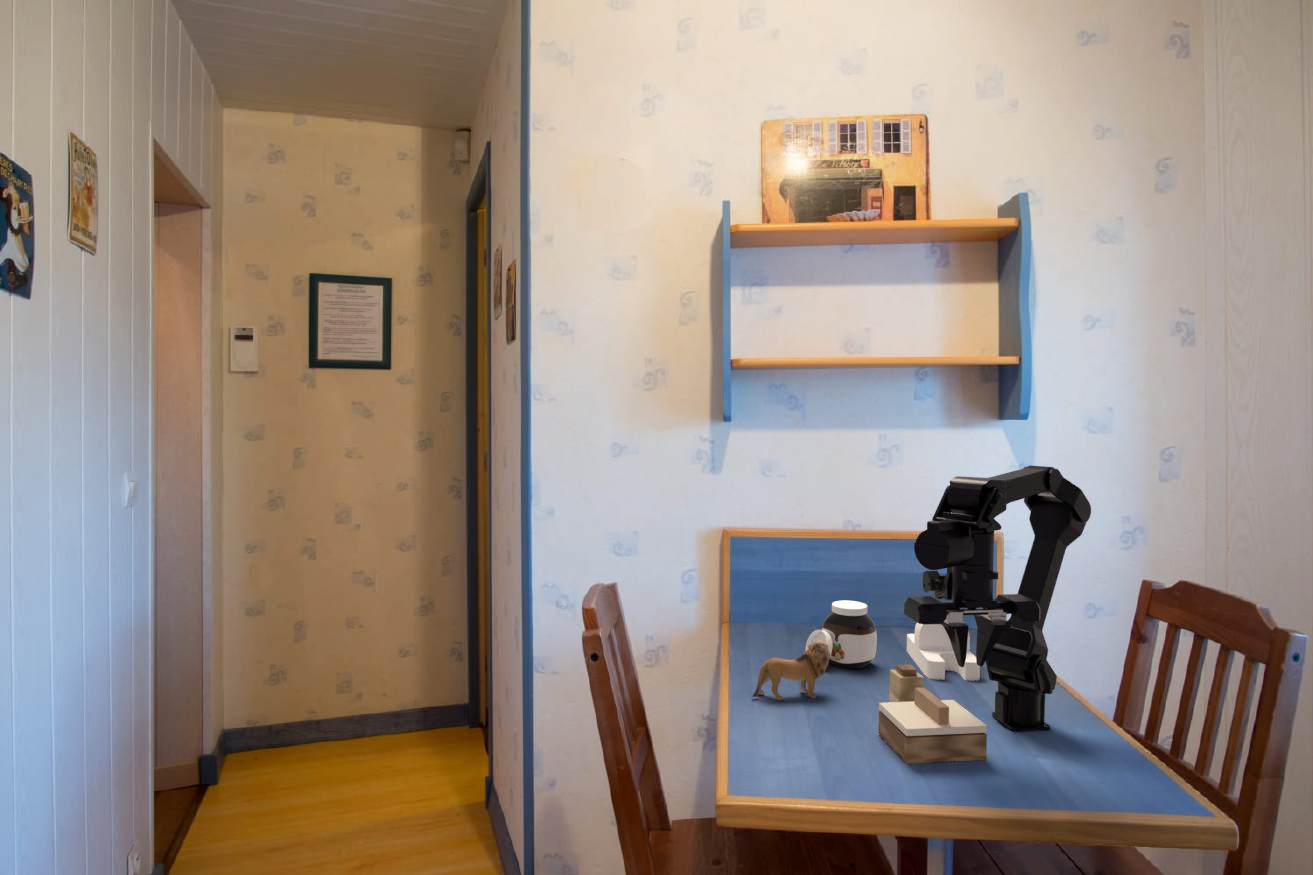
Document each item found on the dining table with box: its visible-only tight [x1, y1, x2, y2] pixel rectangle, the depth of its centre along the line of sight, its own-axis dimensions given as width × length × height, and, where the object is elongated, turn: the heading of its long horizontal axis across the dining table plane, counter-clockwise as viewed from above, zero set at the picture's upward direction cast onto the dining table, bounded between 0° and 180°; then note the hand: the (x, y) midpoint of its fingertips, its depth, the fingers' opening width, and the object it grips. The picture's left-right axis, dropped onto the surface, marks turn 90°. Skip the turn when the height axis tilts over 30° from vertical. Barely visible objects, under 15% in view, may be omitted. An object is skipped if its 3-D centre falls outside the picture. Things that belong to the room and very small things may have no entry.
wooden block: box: [888, 664, 925, 702], centre depth 130 cm, size 4×4×8 cm
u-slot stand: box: [906, 621, 981, 682], centre depth 156 cm, size 10×18×11 cm, turn 176°
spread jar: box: [805, 600, 878, 669], centre depth 156 cm, size 12×11×12 cm
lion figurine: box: [751, 642, 830, 701], centre depth 139 cm, size 15×5×9 cm, turn 108°
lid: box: [878, 687, 988, 736], centre depth 118 cm, size 12×10×4 cm
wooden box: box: [878, 710, 988, 765], centre depth 118 cm, size 12×10×4 cm
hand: (970, 665), depth 119 cm, fingers open, 3 cm apart
